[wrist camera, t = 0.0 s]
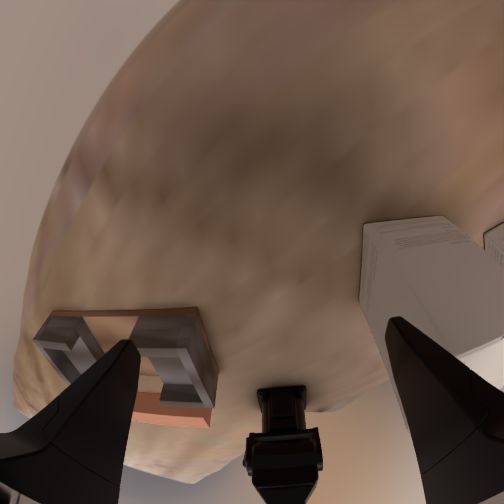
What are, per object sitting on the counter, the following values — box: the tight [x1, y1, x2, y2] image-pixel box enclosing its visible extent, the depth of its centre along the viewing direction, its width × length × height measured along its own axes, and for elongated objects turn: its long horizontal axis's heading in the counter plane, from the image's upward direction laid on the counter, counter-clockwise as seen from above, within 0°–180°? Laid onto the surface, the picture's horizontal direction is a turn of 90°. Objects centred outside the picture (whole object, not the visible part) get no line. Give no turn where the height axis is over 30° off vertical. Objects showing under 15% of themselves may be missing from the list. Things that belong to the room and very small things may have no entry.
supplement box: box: [359, 216, 504, 432], centre depth 18 cm, size 9×9×15 cm
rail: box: [131, 392, 212, 428], centre depth 35 cm, size 14×4×4 cm, turn 97°
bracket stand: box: [33, 307, 219, 408], centre depth 28 cm, size 10×20×6 cm, turn 98°
